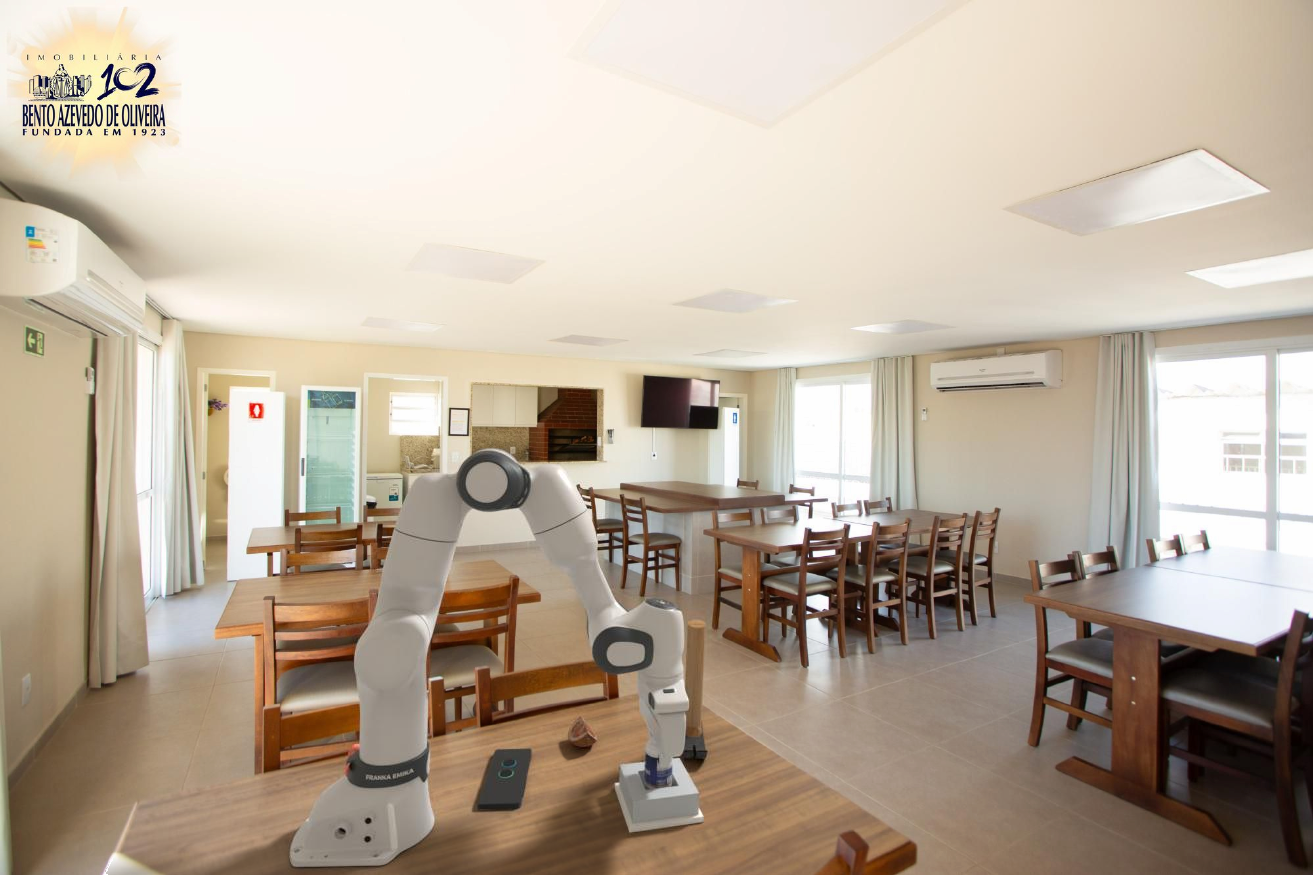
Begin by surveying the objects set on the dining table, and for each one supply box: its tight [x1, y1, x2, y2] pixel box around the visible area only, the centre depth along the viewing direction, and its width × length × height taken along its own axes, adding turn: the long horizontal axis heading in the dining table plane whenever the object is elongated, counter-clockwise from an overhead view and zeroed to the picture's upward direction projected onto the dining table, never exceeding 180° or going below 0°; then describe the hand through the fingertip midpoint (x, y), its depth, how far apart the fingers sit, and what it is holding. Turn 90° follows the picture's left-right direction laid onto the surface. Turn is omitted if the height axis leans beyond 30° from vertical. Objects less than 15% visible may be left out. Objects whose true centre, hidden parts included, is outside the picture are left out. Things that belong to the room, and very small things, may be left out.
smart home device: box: [477, 748, 533, 811], centre depth 123 cm, size 8×2×20 cm
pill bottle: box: [644, 731, 674, 789], centre depth 116 cm, size 5×5×10 cm
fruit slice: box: [567, 716, 598, 748], centre depth 137 cm, size 8×7×5 cm
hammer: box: [682, 619, 708, 760], centre depth 137 cm, size 20×5×30 cm, turn 1°
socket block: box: [614, 757, 705, 834], centre depth 116 cm, size 14×14×5 cm
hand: (658, 756), depth 116 cm, fingers closed on pill bottle, 5 cm apart
